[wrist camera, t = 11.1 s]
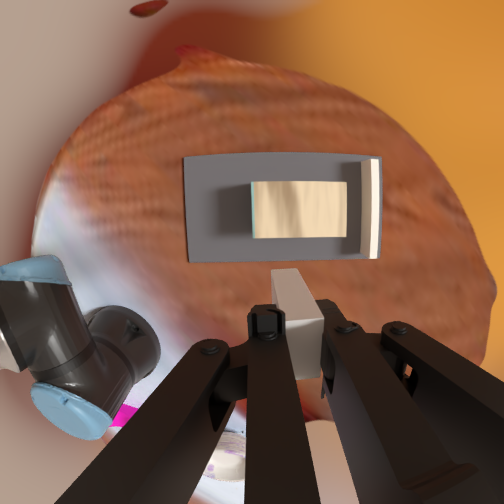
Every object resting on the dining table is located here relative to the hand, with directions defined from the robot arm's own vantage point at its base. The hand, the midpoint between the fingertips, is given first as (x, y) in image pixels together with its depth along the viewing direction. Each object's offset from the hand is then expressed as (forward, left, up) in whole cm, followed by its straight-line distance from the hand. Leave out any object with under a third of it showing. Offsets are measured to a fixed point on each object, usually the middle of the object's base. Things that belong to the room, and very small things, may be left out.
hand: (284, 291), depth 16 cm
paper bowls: (-9, -48, -25) cm, 55 cm away
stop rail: (+15, +3, -25) cm, 29 cm away
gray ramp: (+3, +3, -25) cm, 25 cm away
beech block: (-2, +3, -22) cm, 22 cm away
